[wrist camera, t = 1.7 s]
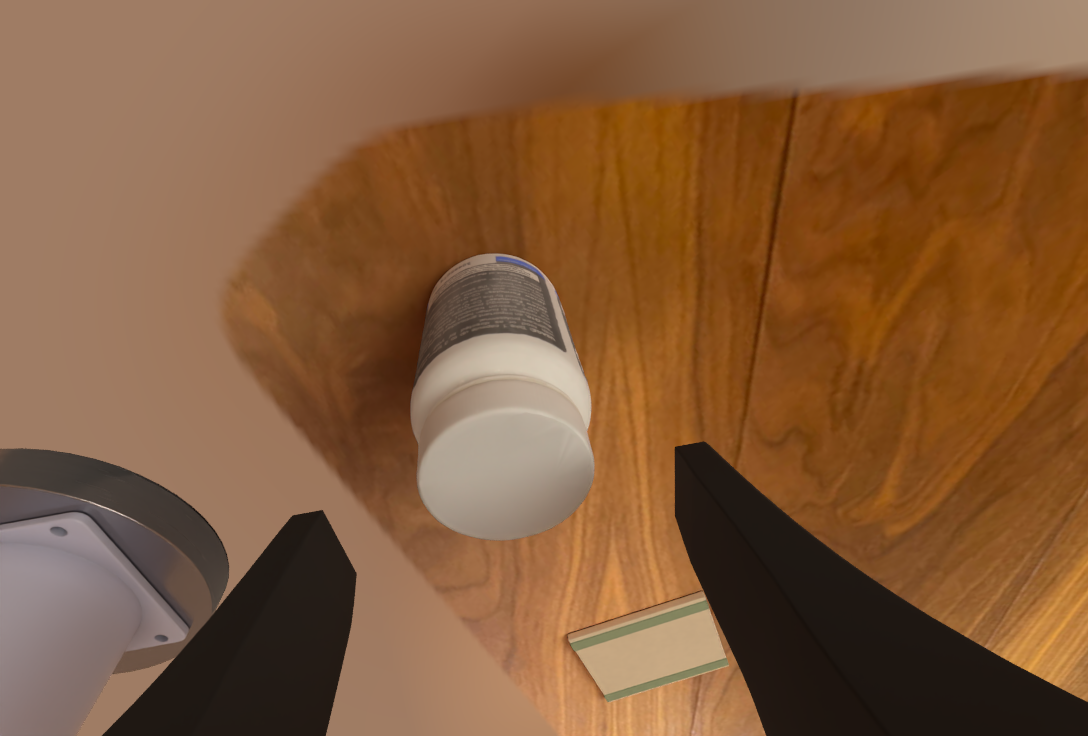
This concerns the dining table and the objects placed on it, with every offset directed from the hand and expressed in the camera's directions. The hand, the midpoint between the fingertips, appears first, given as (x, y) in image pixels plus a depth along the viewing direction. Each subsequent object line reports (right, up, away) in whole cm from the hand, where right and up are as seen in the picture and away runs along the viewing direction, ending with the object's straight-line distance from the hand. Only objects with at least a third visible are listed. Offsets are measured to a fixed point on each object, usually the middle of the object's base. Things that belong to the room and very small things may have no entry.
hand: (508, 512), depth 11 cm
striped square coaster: (+7, -14, +21) cm, 26 cm away
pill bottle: (-1, +5, +8) cm, 10 cm away
